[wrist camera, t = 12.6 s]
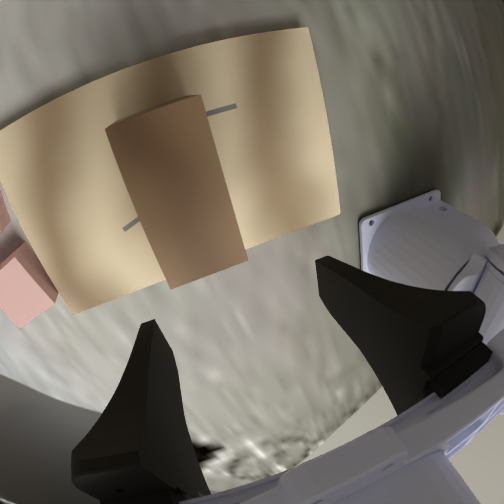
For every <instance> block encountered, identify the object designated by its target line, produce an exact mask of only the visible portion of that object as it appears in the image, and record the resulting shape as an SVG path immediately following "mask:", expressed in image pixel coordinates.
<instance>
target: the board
mask: <svg viewBox="0 0 504 504" xmlns="http://www.w3.org/2000/svg"><path fill="white" fill-rule="evenodd" d="M200 94H201V96H202V100H203V104H204V107H205V111H206V114H207V118H208V121H209V125H210V128H211V132H212V135H213V139H214V142H215V146H216V149H217V153H218V156H219V160H220V163H221V167H222V170H223V174H224V177H225V181H226V184H227V188H228V191H229V195H230V198H231V202H232V205H233V209H234V212H235V216H236V219H237V223H238V226H239V230H240V233H241V237H242V240H243V244H244V247H245V249H248V248H251V247H253V246H256V245H259V244H261V243H264V242H267V241H269V240H272V239H275V238H277V237H280V236H283V235H285V234H288V233H291V232H294V231H296V230H299V229H302V228H304V227H307V226H310V225H312V224H315V223H318V222H320V221H323V220H326V219H328V218H331V217H334V216H336V215H339V214H341V213H340V204H339V196H338V187H337V180H336V172H335V165H334V158H333V151H332V144H331V138H330V132H329V126H328V120H327V114H326V109H325V103H324V98H323V93H322V88H321V83H320V78H319V73H318V68H317V63H316V59H315V54H314V50H313V46H312V41H311V37H310V33H309V29H308V27H303V28H293V29H285V30H277V31H269V32H263V33H256V34H251V35H245V36H239V37H234V38H229V39H224V40H220V41H215V42H211V43H207V44H203V45H199V46H195V47H191V48H187V49H183V50H180V51H176V52H173V53H169V54H166V55H163V56H160V57H156V58H153V59H150V60H147V61H144V62H141V63H138V64H136V65H133V66H130V67H127V68H125V69H122V70H119V71H117V72H114V73H112V74H109V75H107V76H104V77H102V78H99V79H97V80H95V81H92V82H90V83H88V84H86V85H83V86H81V87H79V88H77V89H75V90H73V91H70V92H68V93H66V94H64V95H62V96H60V97H58V98H56V99H54V100H52V101H50V102H48V103H47V104H45V105H43V106H41V107H39V108H37V109H35V110H34V111H32V112H30V113H28V114H27V115H25V116H23V117H21V118H20V119H18V120H16V121H15V122H13V123H11V124H10V125H8V126H7V127H5V128H3V129H2V130H0V181H1V183H2V186H3V188H4V190H5V193H6V195H7V197H8V199H9V202H10V204H11V206H12V208H13V210H14V212H15V214H16V217H17V219H18V221H19V223H20V225H21V227H22V229H23V231H24V233H25V235H26V236H27V238H28V240H29V242H30V244H31V246H32V248H33V250H34V251H35V253H36V255H37V257H38V259H39V260H40V262H41V264H42V266H43V267H44V269H45V271H46V272H47V274H48V276H49V277H50V279H51V281H52V282H53V284H54V286H55V287H56V289H57V290H58V292H59V294H60V295H61V297H62V298H63V300H64V301H65V303H66V304H67V306H68V307H69V309H70V310H71V312H72V313H73V315H74V314H76V313H79V312H82V311H84V310H87V309H90V308H92V307H95V306H97V305H100V304H103V303H105V302H108V301H111V300H113V299H116V298H118V297H121V296H124V295H126V294H129V293H132V292H134V291H137V290H139V289H142V288H145V287H147V286H150V285H153V284H155V283H158V282H161V281H163V280H166V278H165V276H164V274H163V272H162V270H161V268H160V265H159V263H158V261H157V259H156V257H155V254H154V252H153V250H152V248H151V246H150V243H149V241H148V239H147V236H146V234H145V232H144V229H143V227H142V225H141V222H140V220H139V218H138V215H137V213H136V210H135V208H134V206H133V203H132V201H131V198H130V196H129V193H128V191H127V188H126V186H125V183H124V181H123V178H122V175H121V173H120V170H119V167H118V165H117V162H116V159H115V157H114V154H113V151H112V149H111V146H110V143H109V140H108V137H107V134H106V132H105V128H107V127H108V126H109V125H111V124H112V123H114V122H115V121H117V120H119V119H122V118H124V117H127V116H129V115H132V114H134V113H137V112H140V111H142V110H145V109H148V108H151V107H153V106H156V105H159V104H162V103H165V102H168V101H171V100H174V99H177V98H180V97H183V96H187V95H200Z"/></svg>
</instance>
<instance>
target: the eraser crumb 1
mask: <svg viewBox="0 0 504 504" xmlns="http://www.w3.org/2000/svg"><path fill="white" fill-rule="evenodd" d="M9 222H10V218H9V215H8V212H7V210H6V207H5V204H4V201H3V197H2V194H1V191H0V233H1V232H2V230H3V229H4V228H5V227H6V226H7V225H8V224H9Z"/></svg>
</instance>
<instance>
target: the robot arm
mask: <svg viewBox="0 0 504 504" xmlns="http://www.w3.org/2000/svg"><path fill="white" fill-rule="evenodd" d="M370 221H371V222H370ZM369 222H370V223H369ZM359 232H360V251H361V270H360V269H358V268H355V267H353V266H351V265H348V264H346V263H344V262H342V261H339V260H337V259H335V258H332V257H330V256H325V257H323V258H320V259H317V260H315V263H316V271H317V280H318V288H319V296H320V298H321V300H322V301H323V303H324V305H325V306H326V308H327V309H328V311H329V312H330V314H331V315H332V316H333V318H334V319H335V320H336V321H337V322H338V324H339V325H340V326H341V327H342V329H343V330H344V331H345V332H346V333H347V335H348V336H349V337H350V338H351V339H352V341H353V342H354V343H355V344H356V345H357V347H358V348H359V349H360V351H361V352H362V353H363V355H364V356H365V358H366V360H367V361H368V363H369V364H370V366H371V367H372V369H373V371H374V372H375V374H376V376H377V377H378V379H379V381H380V382H381V384H382V386H383V388H384V390H385V392H386V393H387V395H388V397H389V399H390V401H391V403H392V405H393V407H394V409H395V411H396V413H397V415H398V416H396V417H395V418H393V419H391V420H390V421H388V422H386V423H384V424H383V425H381V426H379V427H377V428H376V429H374V430H371V431H369V432H367V433H365V434H363V435H362V436H360V437H358V438H356V439H354V440H352V441H350V442H348V443H346V444H344V445H342V446H340V447H338V448H336V449H334V450H331V451H329V452H327V453H325V454H323V455H320V456H318V457H316V458H314V459H312V460H309V461H307V462H304V463H302V464H300V465H298V466H296V467H294V468H291V469H289V470H286V471H283V472H281V473H278V474H275V475H273V476H270V477H267V478H264V479H261V480H258V481H255V482H252V483H249V484H246V485H243V486H239V487H236V488H233V489H229V490H226V491H222V492H218V493H215V494H211V493H210V491H209V488H208V486H207V483H206V481H205V479H204V476H203V473H202V471H201V468H200V465H199V463H198V460H197V457H196V454H195V451H194V448H193V445H192V442H191V438H190V435H189V432H188V428H187V425H186V421H185V416H184V410H183V403H182V397H181V390H180V383H179V375H178V370H177V366H176V362H175V358H174V354H173V351H172V349H171V347H170V346H169V344H168V342H167V341H166V339H165V337H164V335H163V334H162V332H161V330H160V328H159V326H158V325H157V323H156V321H155V319H154V320H151V321H148V322H145V323H142V324H141V326H140V328H139V331H138V334H137V338H136V341H135V344H134V347H133V350H132V352H131V355H130V358H129V361H128V363H127V366H126V368H125V371H124V373H123V376H122V378H121V380H120V383H119V385H118V387H117V389H116V391H115V393H114V395H113V397H112V398H111V400H110V402H109V403H108V405H107V407H106V408H105V410H104V411H103V413H102V415H101V416H100V418H99V419H98V420H97V422H96V423H95V425H94V426H93V427H92V429H91V430H90V431H89V432H88V434H87V435H86V436H85V437H84V438H83V439H82V441H81V442H80V443H79V444H78V445H77V446H76V447H75V448H74V449H73V450H72V457H71V473H72V474H71V476H72V483H73V484H74V485H75V486H76V487H77V488H78V489H80V490H81V491H83V492H85V493H87V494H89V495H90V496H93V497H94V498H96V499H99V500H100V504H480V502H479V501H478V500H477V498H476V497H475V495H474V494H473V493H472V491H471V490H470V488H469V487H468V486H467V484H466V483H465V482H464V480H463V479H462V477H461V476H460V474H459V473H458V472H457V470H456V469H455V468H454V466H453V465H452V463H451V462H450V461H449V458H451V457H452V456H453V455H454V454H456V453H457V452H458V451H459V450H460V449H462V448H463V447H464V446H465V445H466V444H467V443H469V442H470V441H471V440H472V439H473V438H474V437H475V436H476V435H477V434H478V433H480V432H481V431H482V430H483V429H484V428H485V427H486V426H487V425H488V424H489V423H490V422H491V421H492V420H493V419H494V418H495V417H496V416H497V415H498V414H501V415H504V245H503V244H499V242H498V240H497V238H496V237H495V235H494V234H493V232H492V231H491V230H490V229H489V228H488V227H487V226H486V225H485V224H483V223H482V222H480V221H478V220H476V219H474V218H473V217H471V216H469V215H467V214H465V213H464V212H462V211H460V210H458V209H456V208H454V207H452V206H451V205H449V204H447V203H445V202H443V201H441V193H440V191H439V190H437V189H436V190H433V191H430V192H428V193H425V194H423V195H420V196H418V197H415V198H413V199H410V200H407V201H405V202H402V203H400V204H397V205H395V206H392V207H390V208H387V209H384V210H382V211H379V212H377V213H374V214H372V215H369V216H367V217H364V218H362V219H361V220H360V222H359Z"/></svg>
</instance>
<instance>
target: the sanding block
mask: <svg viewBox="0 0 504 504" xmlns="http://www.w3.org/2000/svg"><path fill="white" fill-rule="evenodd" d="M105 132H106V134H107V137H108V140H109V143H110V146H111V149H112V151H113V154H114V157H115V159H116V162H117V165H118V167H119V170H120V173H121V175H122V178H123V181H124V183H125V186H126V188H127V191H128V193H129V196H130V198H131V201H132V203H133V206H134V208H135V210H136V213H137V215H138V218H139V220H140V222H141V225H142V227H143V229H144V232H145V234H146V236H147V239H148V241H149V243H150V246H151V248H152V250H153V252H154V254H155V257H156V259H157V261H158V263H159V265H160V268H161V270H162V272H163V274H164V276H165V278H166V280H167V283H168V285H169V287H170V289H174V288H176V287H179V286H181V285H184V284H187V283H189V282H192V281H195V280H197V279H200V278H203V277H205V276H208V275H211V274H213V273H216V272H218V271H221V270H224V269H226V268H229V267H232V266H234V265H237V264H239V263H242V262H245V261H247V260H248V257H247V254H246V250H245V247H244V244H243V240H242V237H241V233H240V230H239V226H238V223H237V219H236V216H235V212H234V209H233V205H232V202H231V198H230V195H229V191H228V188H227V184H226V181H225V177H224V174H223V170H222V167H221V163H220V160H219V156H218V153H217V149H216V146H215V142H214V139H213V135H212V132H211V128H210V125H209V121H208V118H207V114H206V111H205V107H204V104H203V100H202V96H201V94H200V95H187V96H183V97H180V98H177V99H174V100H171V101H168V102H165V103H162V104H159V105H156V106H153V107H151V108H148V109H145V110H142V111H140V112H137V113H134V114H132V115H129V116H127V117H124V118H122V119H119V120H117V121H115V122H114V123H112V124H111V125H109V126H108V127H107V128H105Z"/></svg>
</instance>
